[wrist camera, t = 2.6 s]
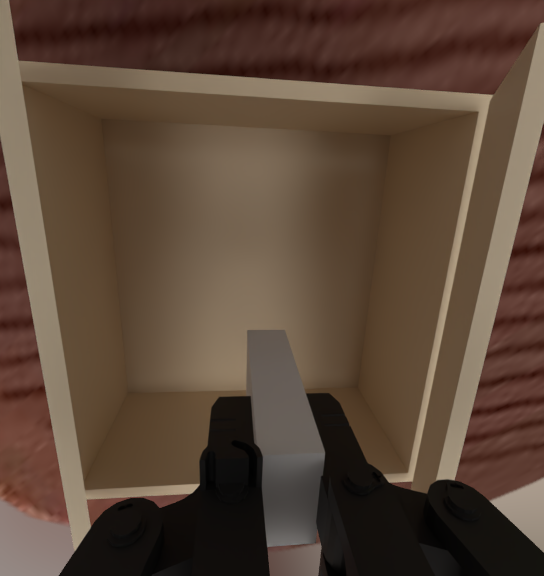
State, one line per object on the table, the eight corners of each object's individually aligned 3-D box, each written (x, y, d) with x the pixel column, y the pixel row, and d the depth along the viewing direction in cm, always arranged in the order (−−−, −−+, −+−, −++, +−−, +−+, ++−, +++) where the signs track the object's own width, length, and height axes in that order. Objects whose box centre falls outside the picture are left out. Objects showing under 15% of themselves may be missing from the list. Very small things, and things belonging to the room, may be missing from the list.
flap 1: (-13, 63, 12) (-31, -40, 6) (5, 67, 13) (3, -30, 6) (68, 515, 19) (98, 687, 12) (78, 510, 19) (113, 676, 13)
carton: (92, 107, 23) (-9, 58, 13) (397, 126, 25) (496, 95, 16) (122, 398, 30) (69, 503, 20) (362, 392, 32) (416, 483, 22)
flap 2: (489, 100, 15) (540, 23, 8) (503, 100, 14) (569, 20, 7) (410, 491, 21) (398, 645, 14) (419, 494, 21) (411, 651, 14)
